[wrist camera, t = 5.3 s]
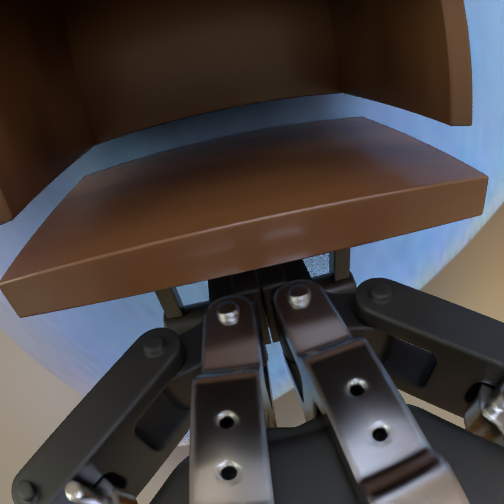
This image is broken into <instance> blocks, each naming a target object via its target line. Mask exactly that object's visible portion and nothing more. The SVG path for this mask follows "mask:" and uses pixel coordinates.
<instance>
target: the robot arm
mask: <svg viewBox="0 0 504 504" xmlns="http://www.w3.org/2000/svg"><path fill="white" fill-rule="evenodd" d="M208 288H209V304H210V305H209V306H208V307H207V309H206V310H205V313H204V317H203V321H202V322H201V323H200V324H198V325H197V326H195V327H194V328H192V329H190V330H188V331H186V332H184V333H182V334H179V335H177V333H176V332H175V331H173V330H171V329H169V328H155V329H152V330H150V331H147V332H146V333H144V334H143V335H141V336H140V337H139V338H138V339H137V340H136V341H135V342H134V344H133V345H132V346H131V347H130V348H129V349H128V350H127V351H126V352H125V353H124V354H123V355H122V357H121V358H120V359H119V360H118V361H117V362H116V363H115V364H114V365H113V366H112V367H111V369H110V370H109V371H108V372H107V373H106V374H105V375H104V376H103V377H102V378H101V379H100V381H99V382H98V383H97V384H96V385H95V386H94V387H93V388H92V389H91V391H90V392H89V393H88V394H87V395H86V396H85V397H84V398H83V400H82V401H81V402H80V403H79V404H78V405H77V406H76V407H75V408H74V409H73V411H72V412H71V413H70V414H69V415H68V416H67V417H66V419H65V420H64V421H63V422H62V423H61V424H60V425H59V427H58V428H57V429H56V430H55V431H54V432H53V433H52V434H51V436H50V437H49V438H48V439H47V440H46V441H45V443H44V444H43V445H42V446H41V447H40V448H39V449H38V451H37V452H36V453H35V454H34V455H33V456H32V458H31V459H30V460H29V461H28V462H27V463H26V464H25V466H24V467H23V468H22V469H21V470H20V471H19V473H18V474H17V475H16V477H15V478H14V480H13V483H12V498H13V501H14V504H138V503H137V500H136V499H135V498H136V497H137V495H138V494H139V493H140V492H141V491H142V490H143V488H144V487H145V486H146V485H147V483H148V482H149V481H150V480H151V478H152V477H153V476H154V475H155V473H156V472H157V471H158V470H159V468H160V467H161V466H162V464H163V463H164V462H165V461H166V459H167V458H168V457H169V455H170V454H171V452H172V451H173V450H174V449H175V448H176V446H177V445H178V444H179V442H180V441H181V440H182V438H183V437H184V436H185V434H186V433H187V432H188V430H189V429H190V452H189V456H188V457H187V458H185V459H184V460H183V461H182V462H181V463H180V464H179V465H178V466H177V467H176V468H175V469H174V470H173V472H172V473H171V474H170V476H169V477H168V479H167V480H166V481H165V483H164V484H163V486H162V487H161V488H160V490H159V491H158V493H157V494H156V495H155V497H154V498H153V499H152V501H151V502H150V504H504V323H503V322H500V321H498V320H495V319H493V318H490V317H488V316H485V315H482V314H480V313H477V312H475V311H472V310H470V309H467V308H464V307H462V306H459V305H457V304H454V303H451V302H448V301H446V300H443V299H441V298H438V297H436V296H433V295H430V294H427V293H424V292H422V291H419V290H417V289H414V288H411V287H409V286H406V285H403V284H401V283H398V282H395V281H392V280H390V279H386V278H372V279H368V280H366V281H364V282H362V283H361V284H360V285H359V286H358V288H357V289H356V293H349V294H336V293H330V292H327V291H324V289H323V288H322V287H321V286H320V285H319V284H318V283H316V282H313V280H312V278H311V276H310V274H309V272H308V270H307V268H306V266H305V264H304V262H303V260H302V259H299V260H295V261H291V262H286V263H282V264H277V265H273V266H269V267H264V268H260V269H255V270H251V271H246V272H242V273H237V274H233V275H228V276H224V277H219V278H215V279H210V280H208ZM263 306H264V307H263ZM264 310H265V312H264ZM265 313H266V316H265ZM266 317H267V321H268V325H269V329H270V332H271V336H272V340H273V343H274V342H278V341H280V343H281V347H282V350H283V356H284V361H285V364H286V367H287V369H288V372H289V374H290V377H291V380H292V382H293V385H294V387H295V390H296V393H297V395H298V398H299V400H300V403H301V405H302V408H303V411H304V415H305V419H306V423H304V424H302V425H300V426H297V427H289V428H287V427H286V428H285V427H283V428H282V427H281V428H280V427H277V424H276V419H275V413H274V406H273V398H272V391H271V384H270V376H269V369H268V364H267V362H268V354H267V350H266V346H265V345H266V344H270V343H271V340H270V336H269V331H268V326H267V321H266ZM396 337H397V338H396ZM398 338H399V339H398ZM400 339H401V340H400ZM403 340H404V341H403ZM405 341H406V342H405ZM407 342H408V343H407ZM410 343H411V344H410ZM412 344H413V345H412ZM414 345H415V346H414ZM417 346H418V347H417ZM419 347H420V348H419ZM421 348H422V349H421ZM424 349H425V350H424ZM426 350H428V351H429V352H428V351H426ZM398 389H400V390H402V391H404V392H406V393H408V394H410V395H412V396H415V397H417V398H419V399H421V400H424V401H426V402H428V403H430V404H433V405H435V406H437V407H439V408H441V409H444V410H446V411H448V412H451V413H453V414H455V415H458V416H460V417H462V418H464V423H465V429H463V428H461V427H459V426H457V425H455V424H453V423H450V422H448V421H446V420H444V419H442V418H440V417H438V416H436V415H434V414H432V413H430V412H428V411H426V410H424V409H421V408H419V407H416V406H413V405H410V404H406V403H405V401H404V399H403V398H402V396H401V394H400V393H399V391H398Z"/></svg>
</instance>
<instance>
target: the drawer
mask: <svg viewBox="0 0 504 504" xmlns="http://www.w3.org/2000/svg"><path fill="white" fill-rule="evenodd" d="M336 93H344V94H349V95H353V96H357V97H361V98H365V99H369V100H373V101H377V102H380V103H384V104H387V105H391V106H394V107H398V108H401V109H404V110H407V111H410V112H414V113H417V114H420V115H422V116H425V117H428V118H431V119H434V120H437V121H439V122H442V123H445V124H447V125H450V126H471V125H472V69H471V54H470V43H469V34H468V26H467V19H466V13H465V7H464V1H463V0H0V225H2V224H4V223H7V222H9V221H11V220H13V219H14V218H15V217H16V216H17V215H18V214H19V213H20V212H21V211H22V210H23V209H24V208H25V207H26V206H27V205H28V204H29V203H30V202H31V201H32V200H33V199H34V198H35V197H36V196H37V195H38V194H39V193H40V192H41V191H42V190H43V189H44V188H45V187H46V186H48V185H49V184H50V183H51V182H52V181H53V180H54V179H55V178H56V177H58V176H59V175H60V174H61V173H62V172H63V171H64V170H66V169H67V168H68V167H69V166H70V165H71V164H73V163H74V162H75V161H76V160H77V159H79V158H80V157H81V156H82V155H83V154H85V153H86V152H87V151H88V150H90V149H91V148H92V147H94V146H95V145H98V144H100V143H103V142H106V141H109V140H112V139H115V138H118V137H121V136H124V135H127V134H130V133H133V132H137V131H140V130H143V129H147V128H150V127H153V126H157V125H161V124H164V123H168V122H172V121H175V120H179V119H183V118H187V117H191V116H196V115H200V114H204V113H209V112H213V111H218V110H223V109H228V108H233V107H238V106H244V105H249V104H255V103H261V102H267V101H274V100H281V99H288V98H296V97H304V96H314V95H324V94H336ZM487 185H488V176H487V175H485V174H483V173H482V172H480V171H478V170H476V169H475V168H473V167H471V166H469V165H468V164H466V163H464V162H462V161H460V160H458V159H456V158H455V157H453V156H451V155H449V154H447V153H445V152H443V151H441V150H439V149H437V148H435V147H433V146H431V145H429V144H426V143H424V142H422V141H420V140H418V139H416V138H413V137H411V136H409V135H407V134H404V133H402V132H400V131H397V130H395V129H393V128H390V127H388V126H385V125H383V124H380V123H378V122H375V121H373V120H370V119H368V118H365V117H352V118H341V119H332V120H323V121H315V122H308V123H300V124H294V125H287V126H281V127H274V128H268V129H263V130H257V131H252V132H246V133H241V134H236V135H231V136H226V137H222V138H217V139H213V140H208V141H204V142H200V143H195V144H191V145H187V146H183V147H179V148H175V149H171V150H168V151H164V152H160V153H157V154H153V155H149V156H146V157H143V158H139V159H136V160H132V161H129V162H126V163H123V164H119V165H116V166H113V167H110V168H107V169H104V170H101V171H98V172H95V173H92V174H89V175H87V176H84V177H83V178H82V179H81V180H80V181H79V183H78V184H77V185H76V186H75V187H74V188H73V189H72V190H71V191H70V192H69V193H68V194H67V196H66V197H65V198H64V199H63V200H62V201H61V202H60V203H59V205H58V206H57V207H56V208H55V209H54V210H53V212H52V213H51V214H50V215H49V216H48V217H47V219H46V220H45V221H44V222H43V223H42V225H41V226H40V227H39V228H38V230H37V231H36V232H35V233H34V235H33V236H32V237H31V239H30V240H29V241H28V242H27V244H26V245H25V246H24V248H23V249H22V250H21V252H20V253H19V255H18V256H17V257H16V259H15V260H14V261H13V263H12V264H11V266H10V267H9V269H8V270H7V271H6V273H5V274H4V276H3V277H2V279H1V280H0V289H1V291H2V292H3V294H4V295H5V297H6V299H7V300H8V302H9V303H10V304H11V306H12V307H13V309H14V310H15V312H16V313H17V315H18V316H19V317H20V318H23V317H28V316H33V315H39V314H44V313H49V312H54V311H60V310H65V309H70V308H75V307H80V306H85V305H90V304H95V303H100V302H105V301H110V300H115V299H120V298H125V297H130V296H135V295H139V294H144V293H149V292H154V291H155V293H156V295H157V297H158V299H159V302H160V304H161V306H162V308H163V310H164V318H163V320H164V328H169V329H171V330H173V331H175V332H176V333H177V335H179V334H182V333H184V332H186V331H188V330H190V329H192V328H194V327H195V326H197V325H198V324H200V323H201V322H202V321H203V317H204V313H205V310H206V309H207V307H208V306H209V305H210V304H209V301H205V302H200V303H195V304H190V305H185V306H183V304H182V301H181V299H180V296H179V294H178V291H177V289H176V287H178V286H182V285H187V284H192V283H196V282H201V281H205V280H210V279H215V278H219V277H224V276H228V275H233V274H237V273H242V272H246V271H251V270H255V269H260V268H264V267H269V266H273V265H277V264H282V263H286V262H291V261H295V260H299V259H304V258H308V257H312V256H317V255H321V254H325V253H329V270H330V273H327V274H323V275H319V276H315V277H311V278H312V280H313V282H316V283H318V284H319V285H320V286H321V287H322V288H323V289H324V291H327V292H330V293H336V294H349V293H356V289H357V287H356V283H355V280H354V277H353V275H352V273H351V272H350V247H355V246H359V245H363V244H367V243H371V242H375V241H380V240H384V239H388V238H392V237H396V236H400V235H404V234H408V233H412V232H416V231H420V230H424V229H428V228H432V227H436V226H440V225H444V224H448V223H452V222H456V221H460V220H463V219H467V218H471V217H475V216H479V215H481V214H482V213H483V208H484V203H485V197H486V191H487ZM263 307H264V306H263ZM264 312H265V310H264ZM265 316H266V313H265ZM266 321H267V317H266ZM267 326H268V327H269V325H268V321H267Z"/></svg>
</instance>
